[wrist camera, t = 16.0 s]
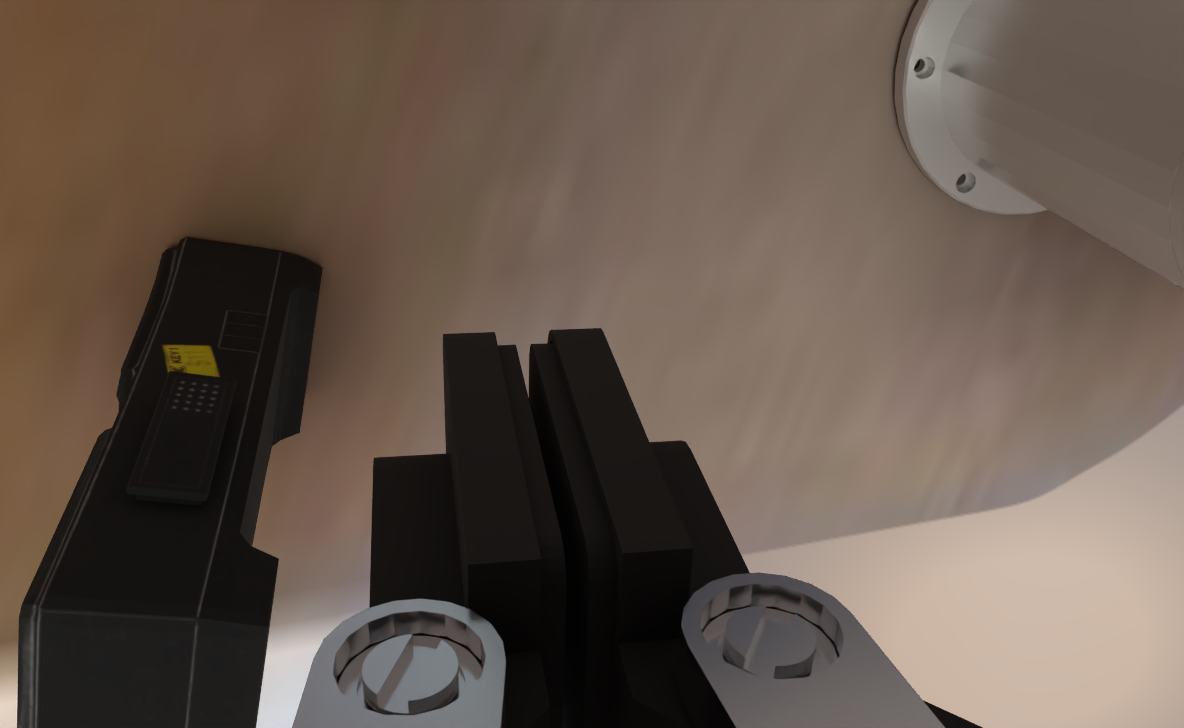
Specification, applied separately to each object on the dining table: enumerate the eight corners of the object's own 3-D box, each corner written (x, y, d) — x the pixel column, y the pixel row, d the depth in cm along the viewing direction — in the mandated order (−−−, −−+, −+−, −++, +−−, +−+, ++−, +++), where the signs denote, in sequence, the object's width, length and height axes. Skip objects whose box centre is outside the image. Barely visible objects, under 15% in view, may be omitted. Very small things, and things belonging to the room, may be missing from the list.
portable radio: (168, 207, 42) (-82, 643, 20) (327, 233, 43) (262, 665, 21) (155, 386, 45) (-72, 934, 23) (303, 403, 46) (226, 934, 24)
